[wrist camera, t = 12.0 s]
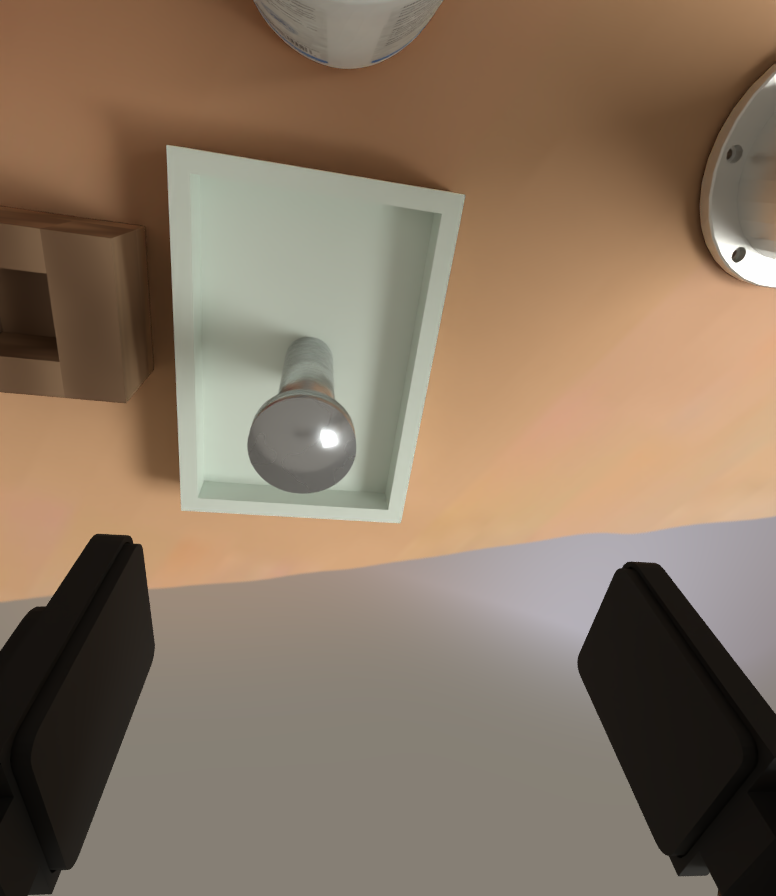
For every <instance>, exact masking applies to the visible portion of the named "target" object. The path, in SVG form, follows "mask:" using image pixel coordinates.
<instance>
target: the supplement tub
mask: <svg viewBox="0 0 776 896" xmlns="http://www.w3.org/2000/svg"><path fill="white" fill-rule="evenodd" d="M253 1H254V3H255V5H256V6H257V8H258V10H259V12H260V13H261V15H262V16H263V18H264V19H265V21H266V22H267V24H268V25H269V26H270V27H271V29H272V30H273V31H274V32H275V33H276V34H277V35H278V36H279V37H280V38H281V39H282V40H283V41H284V42H285V43H287V44H288V45H289V46H290V47H291V48H293V49H294V50H295V51H297V52H298V53H300V54H301V55H303V56H305V57H307V58H308V59H310V60H313V61H315V62H317V63H320V64H323V65H326V66H330V67H334V68H340V69H355V68H363V67H368V66H371V65H374V64H377V63H380V62H382V61H384V60H387V59H388V58H390V57H392V56H394V55H395V54H397V53H398V52H400V51H401V50H402V49H404V48H405V47H406V46H407V45H409V44H410V43H411V42H412V41H413V40H414V39H415V38H416V37H417V36H418V35H419V34H420V32H421V31H422V30H423V29H424V27H425V26H426V25H427V24H428V22H429V21H430V19H431V18H432V17H433V15H434V14H435V12H436V11H437V9H438V8H439V6H440V5H441V3H442V2H443V0H253Z"/></svg>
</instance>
